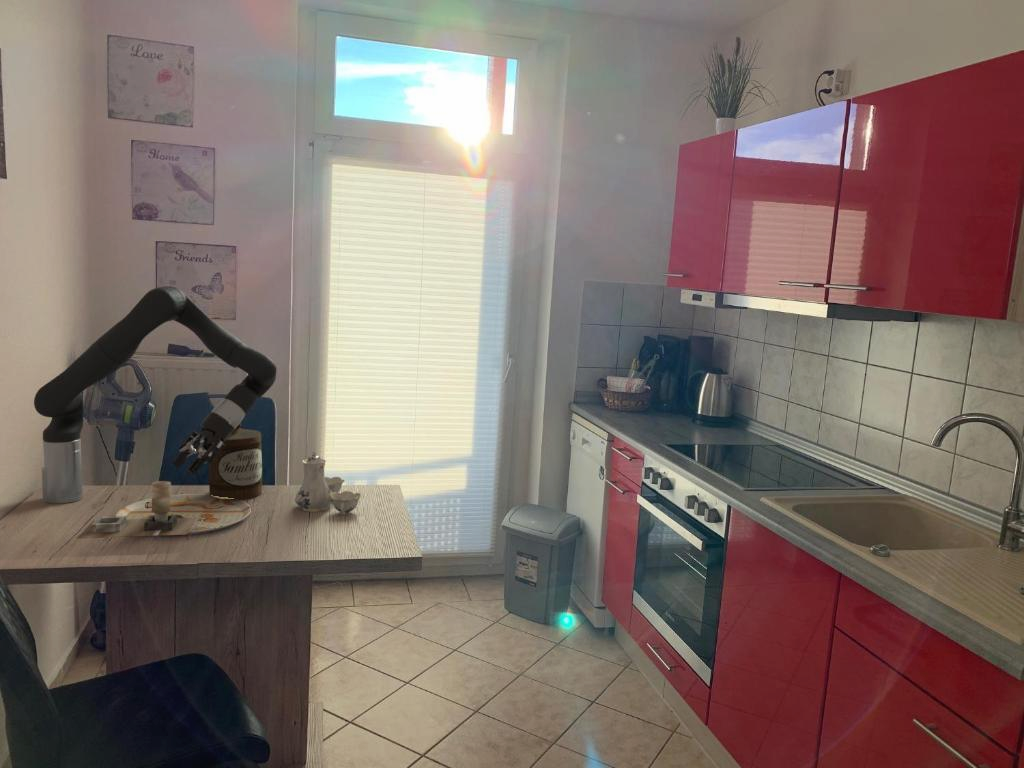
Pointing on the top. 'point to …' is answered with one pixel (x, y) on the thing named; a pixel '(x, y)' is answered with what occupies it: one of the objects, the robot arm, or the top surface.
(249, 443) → the wooden container
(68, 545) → the top surface
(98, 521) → the subfloor board
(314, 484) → the chinaware
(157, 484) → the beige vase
